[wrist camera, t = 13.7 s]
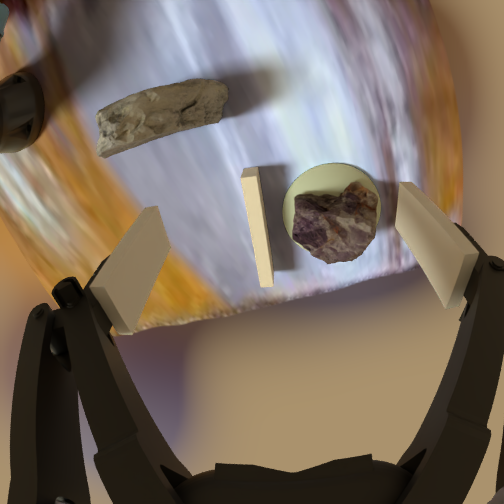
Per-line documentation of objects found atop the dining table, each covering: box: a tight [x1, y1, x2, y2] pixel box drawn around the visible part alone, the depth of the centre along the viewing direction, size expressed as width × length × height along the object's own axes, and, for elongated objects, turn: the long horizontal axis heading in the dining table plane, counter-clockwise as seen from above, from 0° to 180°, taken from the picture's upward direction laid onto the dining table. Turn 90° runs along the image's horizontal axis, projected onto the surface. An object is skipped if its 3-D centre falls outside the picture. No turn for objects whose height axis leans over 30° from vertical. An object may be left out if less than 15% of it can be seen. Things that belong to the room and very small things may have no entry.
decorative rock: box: [95, 79, 228, 158], centre depth 28 cm, size 16×7×15 cm, turn 100°
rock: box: [292, 181, 378, 264], centre depth 37 cm, size 12×9×10 cm
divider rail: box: [241, 167, 274, 287], centre depth 42 cm, size 2×18×4 cm, turn 9°
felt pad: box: [282, 163, 381, 252], centre depth 41 cm, size 15×15×1 cm
